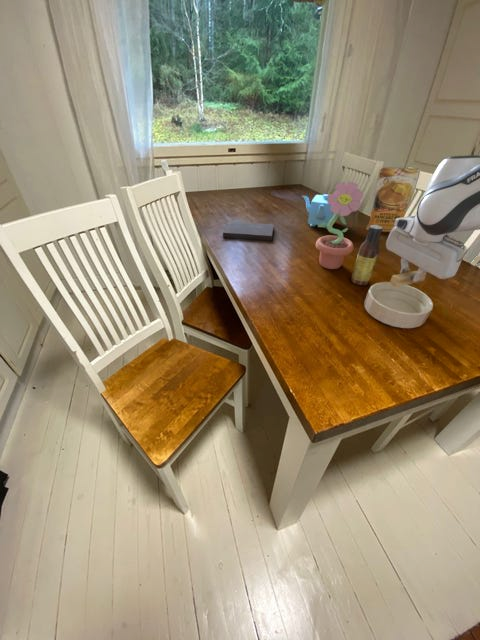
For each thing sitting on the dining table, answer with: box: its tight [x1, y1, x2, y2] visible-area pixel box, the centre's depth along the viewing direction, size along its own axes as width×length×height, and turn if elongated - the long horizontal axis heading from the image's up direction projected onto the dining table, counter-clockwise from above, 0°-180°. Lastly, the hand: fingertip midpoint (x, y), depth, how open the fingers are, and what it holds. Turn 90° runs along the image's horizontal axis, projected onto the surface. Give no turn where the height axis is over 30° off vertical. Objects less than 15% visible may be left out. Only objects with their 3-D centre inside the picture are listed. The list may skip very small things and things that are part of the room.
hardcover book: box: [222, 221, 275, 241], centre depth 133 cm, size 16×23×2 cm
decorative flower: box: [315, 181, 363, 270], centre depth 99 cm, size 15×14×30 cm
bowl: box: [363, 281, 434, 329], centre depth 83 cm, size 17×17×6 cm
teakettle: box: [301, 193, 334, 229], centre depth 140 cm, size 19×19×15 cm
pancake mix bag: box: [365, 167, 421, 233], centre depth 130 cm, size 7×19×28 cm, turn 85°
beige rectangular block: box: [389, 270, 427, 287], centre depth 77 cm, size 10×2×2 cm, turn 109°
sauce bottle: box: [351, 225, 383, 286], centre depth 92 cm, size 7×6×20 cm
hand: (408, 277), depth 77 cm, fingers closed on beige rectangular block, 2 cm apart
